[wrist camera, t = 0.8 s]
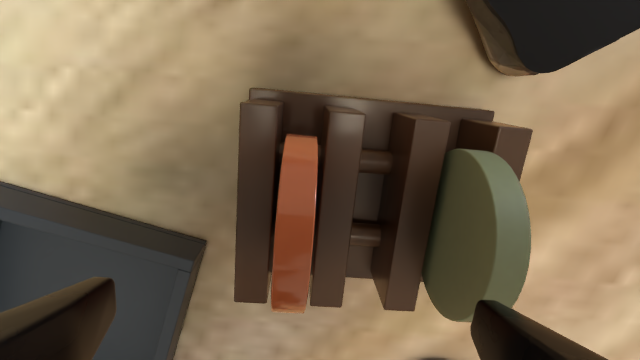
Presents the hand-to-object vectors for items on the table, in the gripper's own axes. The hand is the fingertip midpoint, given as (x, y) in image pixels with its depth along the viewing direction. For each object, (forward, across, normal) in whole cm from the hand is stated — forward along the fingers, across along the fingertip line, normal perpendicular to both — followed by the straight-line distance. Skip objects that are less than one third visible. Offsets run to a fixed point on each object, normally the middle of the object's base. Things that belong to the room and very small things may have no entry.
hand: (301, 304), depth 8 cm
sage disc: (+6, -7, 0) cm, 9 cm away
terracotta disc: (+6, 0, 0) cm, 6 cm away
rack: (+11, -3, 0) cm, 11 cm away
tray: (+11, +12, +9) cm, 19 cm away
